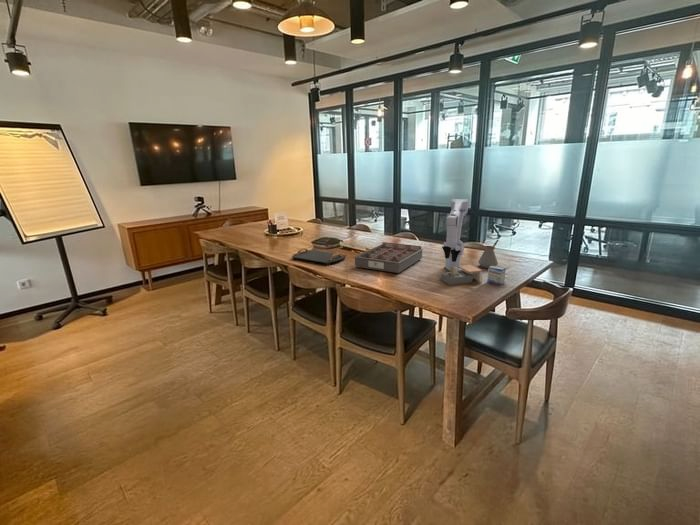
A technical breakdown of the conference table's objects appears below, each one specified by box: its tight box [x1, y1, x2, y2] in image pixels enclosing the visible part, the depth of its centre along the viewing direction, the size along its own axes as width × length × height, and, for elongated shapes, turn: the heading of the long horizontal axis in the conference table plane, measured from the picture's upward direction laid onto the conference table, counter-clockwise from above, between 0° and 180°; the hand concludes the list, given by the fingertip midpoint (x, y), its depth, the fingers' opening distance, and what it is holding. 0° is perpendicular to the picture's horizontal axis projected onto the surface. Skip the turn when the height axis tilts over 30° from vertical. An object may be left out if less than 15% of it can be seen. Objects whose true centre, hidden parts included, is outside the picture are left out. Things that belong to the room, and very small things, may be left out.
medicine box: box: [487, 265, 507, 286], centre depth 193 cm, size 8×4×9 cm, turn 44°
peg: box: [449, 267, 457, 276], centre depth 197 cm, size 4×4×8 cm
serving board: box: [291, 248, 347, 267], centre depth 251 cm, size 39×23×6 cm, turn 55°
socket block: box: [440, 270, 474, 286], centre depth 198 cm, size 10×14×4 cm
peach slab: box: [458, 264, 483, 283], centre depth 199 cm, size 12×8×7 cm
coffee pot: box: [478, 239, 500, 269], centre depth 224 cm, size 21×12×15 cm, turn 138°
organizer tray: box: [353, 241, 424, 274], centre depth 234 cm, size 32×40×10 cm
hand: (450, 259), depth 204 cm, fingers open, 7 cm apart
